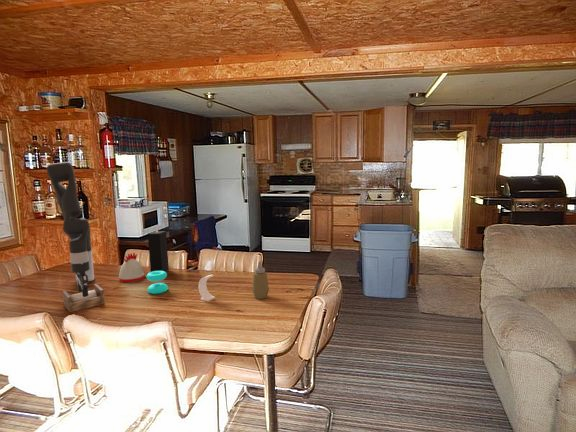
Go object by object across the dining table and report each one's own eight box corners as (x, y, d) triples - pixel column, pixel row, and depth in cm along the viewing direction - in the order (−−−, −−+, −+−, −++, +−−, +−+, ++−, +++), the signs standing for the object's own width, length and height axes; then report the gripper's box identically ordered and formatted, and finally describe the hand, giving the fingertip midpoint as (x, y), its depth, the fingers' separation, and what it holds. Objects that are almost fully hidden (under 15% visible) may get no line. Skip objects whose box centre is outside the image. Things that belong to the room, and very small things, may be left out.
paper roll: (72, 307, 173) (71, 296, 172) (69, 303, 177) (68, 293, 176) (98, 301, 180) (97, 291, 179) (95, 297, 184) (94, 288, 183)
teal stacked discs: (170, 272, 193) (152, 276, 186) (171, 290, 195) (153, 296, 188) (160, 268, 200) (142, 273, 193) (162, 286, 202) (144, 291, 194)
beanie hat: (149, 277, 220) (147, 252, 218) (129, 283, 209) (126, 257, 206) (135, 273, 228) (133, 249, 225) (114, 280, 216) (111, 254, 214)
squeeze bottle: (271, 295, 185) (270, 259, 182) (265, 301, 177) (264, 264, 175) (256, 293, 187) (255, 258, 185) (249, 299, 180) (248, 263, 177)
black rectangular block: (162, 274, 225) (159, 228, 221) (150, 273, 227) (147, 228, 223) (169, 270, 233) (165, 225, 229) (157, 269, 234) (154, 225, 230)
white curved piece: (208, 301, 179) (206, 277, 177) (199, 299, 182) (197, 275, 180) (214, 298, 182) (213, 274, 181) (205, 296, 186) (204, 272, 184)
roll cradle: (69, 312, 169) (67, 297, 168) (64, 305, 178) (62, 291, 177) (104, 303, 179) (103, 289, 178) (97, 297, 188) (96, 283, 187)
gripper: (67, 259, 178) (71, 292, 181) (74, 265, 168) (78, 300, 170) (84, 256, 183) (88, 288, 186) (92, 262, 173) (96, 296, 175)
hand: (83, 294), depth 178 cm, fingers open, 8 cm apart
